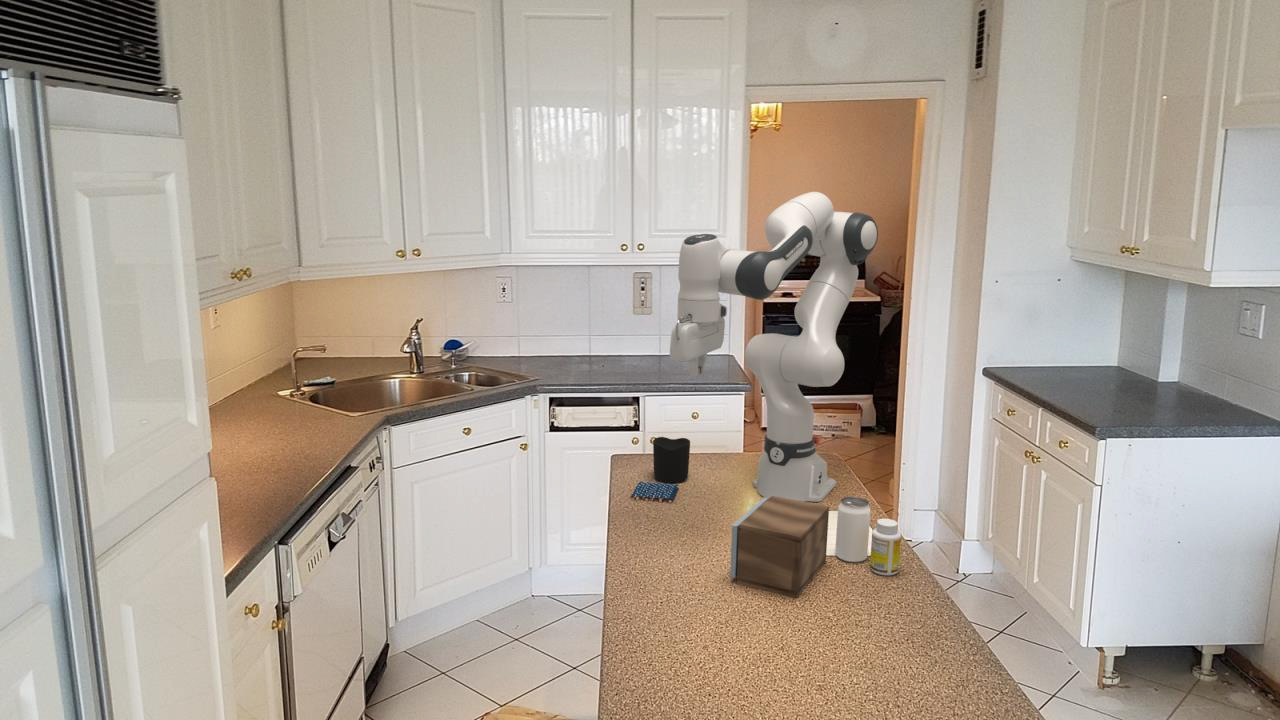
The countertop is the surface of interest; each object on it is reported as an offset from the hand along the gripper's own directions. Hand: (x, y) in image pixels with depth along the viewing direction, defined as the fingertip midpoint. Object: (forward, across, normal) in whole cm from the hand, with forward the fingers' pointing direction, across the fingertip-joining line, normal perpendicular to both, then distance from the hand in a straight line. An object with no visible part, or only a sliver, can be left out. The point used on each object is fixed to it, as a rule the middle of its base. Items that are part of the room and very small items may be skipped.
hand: (696, 375), depth 196 cm
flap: (+33, -14, -19) cm, 41 cm away
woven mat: (+35, +13, +16) cm, 41 cm away
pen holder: (+34, +26, +18) cm, 46 cm away
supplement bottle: (+34, -3, -43) cm, 55 cm away
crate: (+34, -14, -26) cm, 45 cm away
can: (+34, +1, -36) cm, 50 cm away
